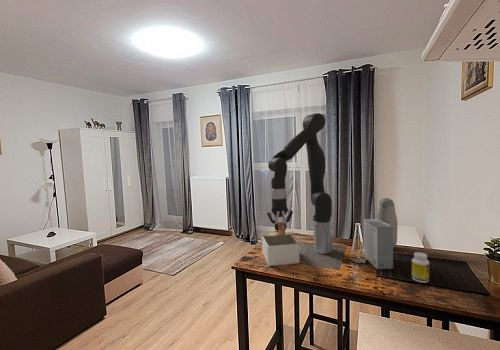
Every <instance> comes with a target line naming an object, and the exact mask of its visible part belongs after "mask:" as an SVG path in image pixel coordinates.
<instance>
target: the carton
mask: <svg viewBox="0 0 500 350" xmlns="http://www.w3.org/2000/svg"><path fill="white" fill-rule="evenodd" d="M261 251H262V254H263V258H264V260H265V262H266V263H267V266H268V267H272V266H282V265H283V266H284V265H293V264H300V245H299V242H298V241H297V240H296V239H295V237H294V236H293V235H282V236H271V237H266V236H263V235H262V234H261Z"/></svg>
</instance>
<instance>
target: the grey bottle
mask: <svg viewBox="0 0 500 350" xmlns="http://www.w3.org/2000/svg"><path fill="white" fill-rule="evenodd" d="M395 209H396V208H395V202H394V200H392V199H391V198H389V197H388V198H386V197H385V198H382V199H381V200H379V202H378V210H377V215H376V219H379V220H381V221H383V222H385V223H387V224H389V225H391V226H393V249H395V247H396V245H397V242H398V217H397V214H396V210H395Z"/></svg>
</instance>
